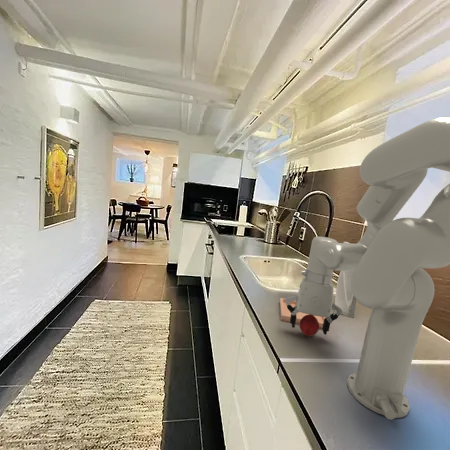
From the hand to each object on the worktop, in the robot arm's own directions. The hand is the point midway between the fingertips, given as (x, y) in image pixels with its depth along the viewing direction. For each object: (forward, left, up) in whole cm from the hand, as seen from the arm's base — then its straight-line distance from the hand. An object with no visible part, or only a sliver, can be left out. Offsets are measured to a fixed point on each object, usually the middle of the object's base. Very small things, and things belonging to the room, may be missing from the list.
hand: (308, 329), depth 85 cm
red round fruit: (0, 0, -3) cm, 3 cm away
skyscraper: (+27, -17, -3) cm, 32 cm away
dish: (+15, 0, -2) cm, 15 cm away
